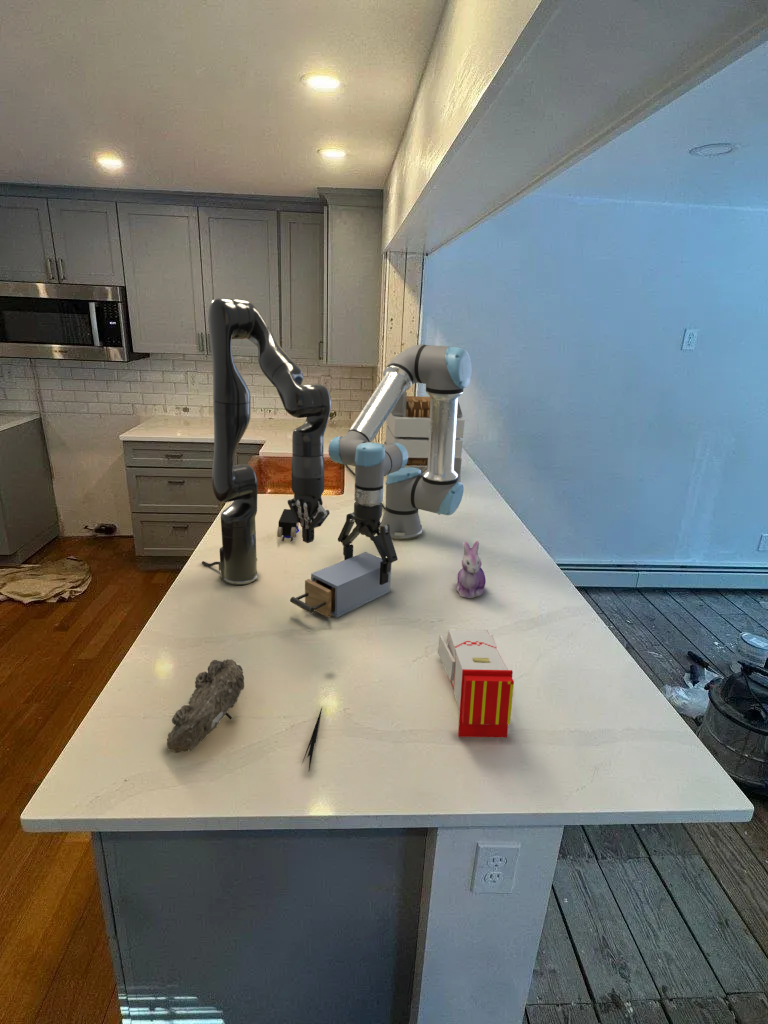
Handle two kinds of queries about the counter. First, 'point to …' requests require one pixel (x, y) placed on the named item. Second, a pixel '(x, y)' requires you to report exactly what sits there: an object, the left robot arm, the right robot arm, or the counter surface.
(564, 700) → the counter surface
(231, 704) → the fossil
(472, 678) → the toy
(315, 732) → the feather
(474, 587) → the figurine
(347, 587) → the cabinet
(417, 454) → the white slatted crate
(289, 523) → the figurine character
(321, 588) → the drawer
